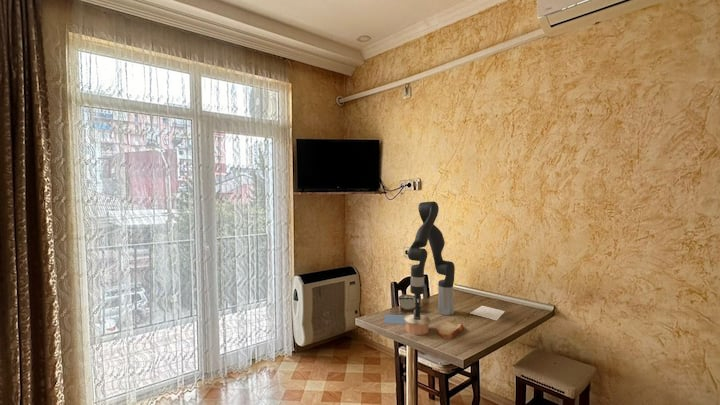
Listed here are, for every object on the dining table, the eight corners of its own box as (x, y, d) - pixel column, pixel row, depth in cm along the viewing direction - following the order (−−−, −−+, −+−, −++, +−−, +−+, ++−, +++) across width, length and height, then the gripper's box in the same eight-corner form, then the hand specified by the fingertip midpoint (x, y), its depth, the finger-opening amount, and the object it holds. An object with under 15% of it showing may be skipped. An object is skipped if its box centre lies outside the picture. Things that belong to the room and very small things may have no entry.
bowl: (427, 327, 185) (427, 316, 185) (429, 336, 173) (429, 324, 173) (405, 326, 186) (405, 315, 186) (406, 334, 174) (406, 323, 174)
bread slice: (442, 340, 169) (442, 333, 169) (429, 326, 186) (429, 320, 186) (474, 338, 172) (474, 330, 172) (458, 325, 190) (458, 318, 189)
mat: (409, 316, 202) (409, 315, 202) (410, 325, 187) (410, 324, 187) (384, 315, 204) (384, 314, 204) (383, 324, 189) (383, 323, 189)
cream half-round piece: (416, 309, 214) (417, 294, 214) (417, 313, 208) (417, 297, 208) (398, 309, 215) (398, 294, 215) (398, 312, 209) (398, 296, 209)
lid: (428, 316, 186) (428, 307, 186) (431, 325, 172) (431, 315, 172) (403, 315, 187) (403, 306, 187) (404, 324, 173) (404, 314, 173)
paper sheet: (483, 305, 224) (483, 304, 224) (528, 318, 203) (528, 316, 203) (466, 313, 208) (467, 312, 208) (513, 328, 187) (514, 326, 187)
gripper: (425, 288, 172) (425, 319, 172) (423, 281, 186) (423, 310, 186) (411, 287, 173) (410, 318, 173) (409, 280, 187) (409, 309, 187)
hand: (417, 314), depth 179 cm, fingers open, 7 cm apart
